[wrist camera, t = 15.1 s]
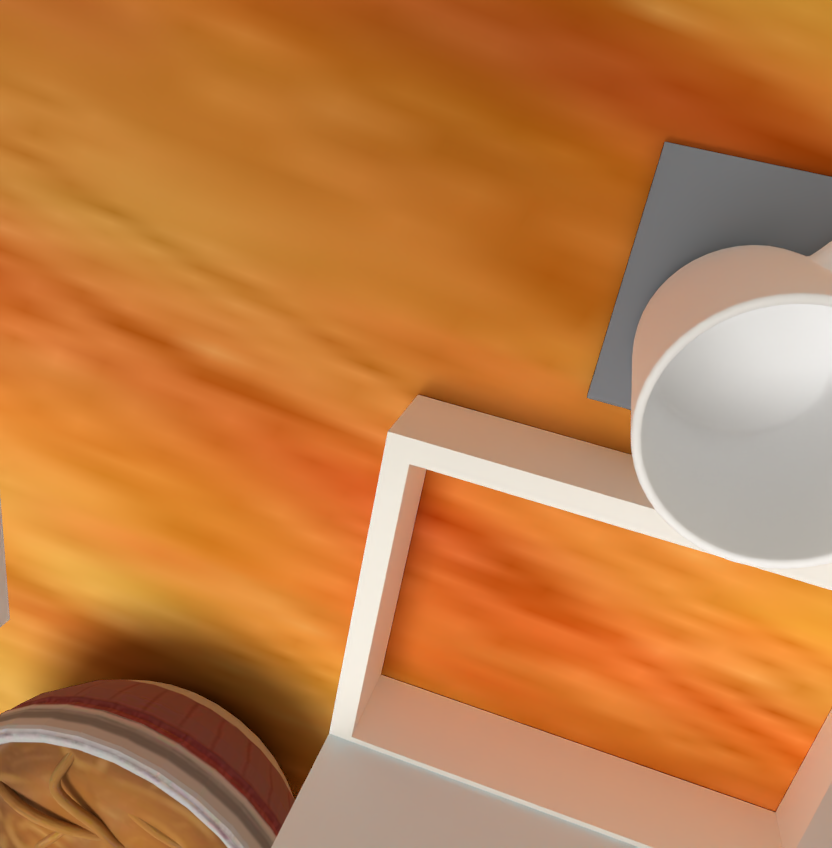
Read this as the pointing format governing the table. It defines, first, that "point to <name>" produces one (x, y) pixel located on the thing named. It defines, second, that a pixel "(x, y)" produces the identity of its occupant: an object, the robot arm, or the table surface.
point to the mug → (739, 405)
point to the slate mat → (706, 235)
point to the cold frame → (486, 732)
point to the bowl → (135, 772)
